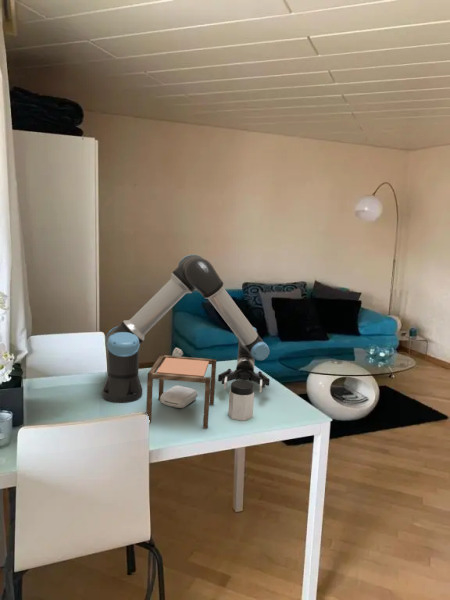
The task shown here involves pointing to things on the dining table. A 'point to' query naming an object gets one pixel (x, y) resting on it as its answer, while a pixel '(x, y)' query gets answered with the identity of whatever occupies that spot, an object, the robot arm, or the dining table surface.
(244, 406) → the jar
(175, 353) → the sitting furry creature
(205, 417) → the trapdoor frame
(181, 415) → the dining table surface
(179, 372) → the trapdoor
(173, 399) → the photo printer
